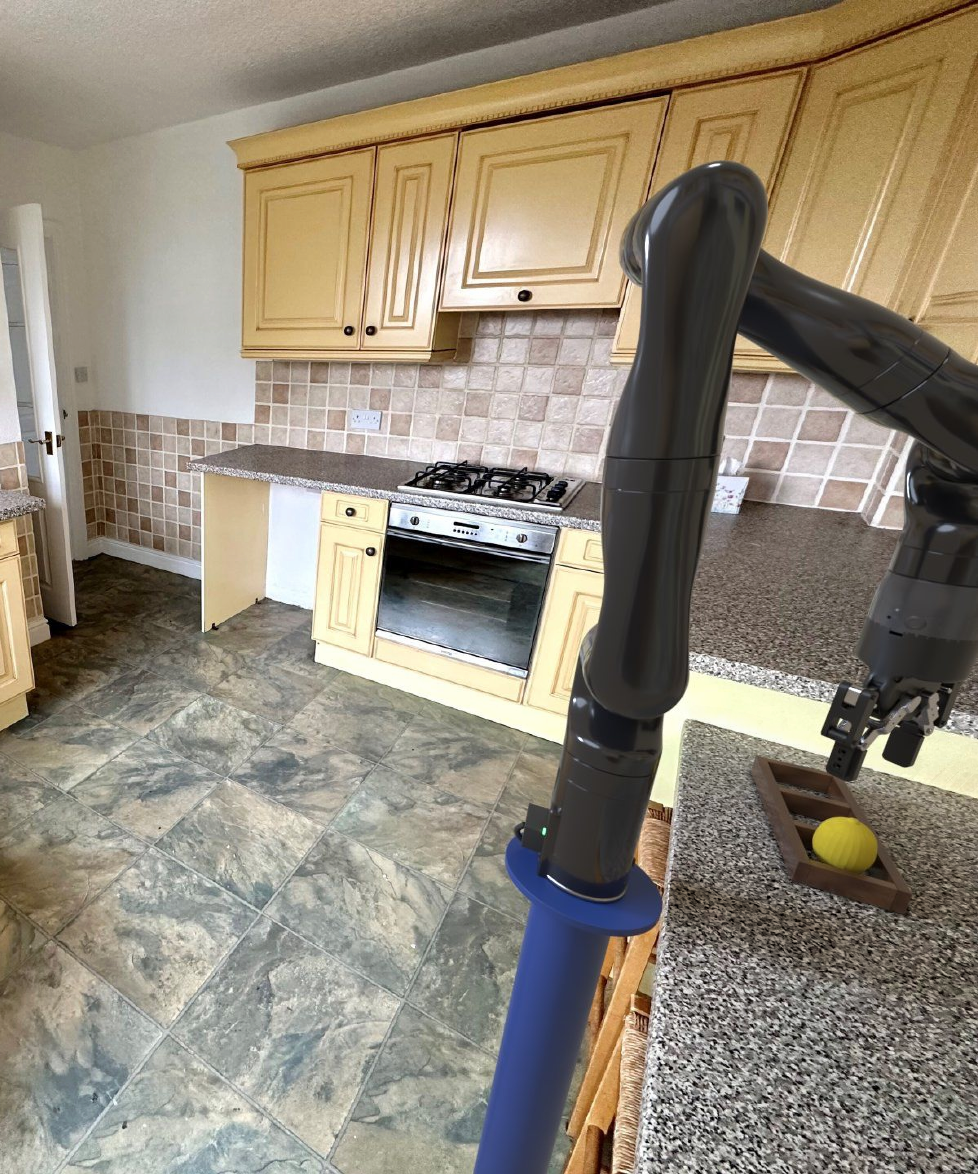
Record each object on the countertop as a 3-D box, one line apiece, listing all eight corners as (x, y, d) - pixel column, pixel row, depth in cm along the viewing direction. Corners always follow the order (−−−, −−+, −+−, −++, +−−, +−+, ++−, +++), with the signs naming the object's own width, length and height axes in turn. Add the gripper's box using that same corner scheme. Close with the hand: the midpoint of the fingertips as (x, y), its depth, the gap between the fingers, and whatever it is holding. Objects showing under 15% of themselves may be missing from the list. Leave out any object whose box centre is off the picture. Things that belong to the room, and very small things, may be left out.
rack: (791, 881, 78) (798, 861, 77) (750, 771, 100) (755, 755, 99) (903, 915, 73) (913, 894, 72) (834, 791, 95) (841, 774, 94)
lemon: (872, 894, 76) (895, 840, 74) (811, 877, 79) (831, 824, 76) (855, 865, 81) (876, 813, 78) (798, 850, 83) (817, 799, 81)
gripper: (921, 602, 65) (869, 740, 70) (825, 616, 61) (777, 761, 66) (1030, 628, 58) (963, 779, 63) (929, 645, 54) (867, 805, 59)
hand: (868, 770), depth 64 cm, fingers open, 8 cm apart
